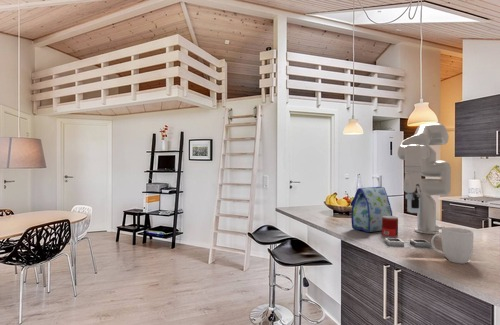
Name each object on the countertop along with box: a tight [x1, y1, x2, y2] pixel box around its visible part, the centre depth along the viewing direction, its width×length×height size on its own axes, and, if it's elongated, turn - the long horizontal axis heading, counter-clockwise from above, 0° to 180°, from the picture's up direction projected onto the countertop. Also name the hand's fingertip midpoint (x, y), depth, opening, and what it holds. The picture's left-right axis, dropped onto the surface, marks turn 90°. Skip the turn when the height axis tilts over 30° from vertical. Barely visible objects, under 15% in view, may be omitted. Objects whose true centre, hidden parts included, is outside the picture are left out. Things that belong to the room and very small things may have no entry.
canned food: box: [381, 215, 399, 237], centre depth 167 cm, size 8×8×11 cm
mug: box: [430, 226, 474, 264], centre depth 127 cm, size 15×11×13 cm
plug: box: [405, 192, 419, 214], centre depth 146 cm, size 5×4×9 cm
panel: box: [379, 237, 435, 251], centre depth 147 cm, size 22×14×3 cm, turn 81°
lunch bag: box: [350, 186, 393, 233], centre depth 184 cm, size 22×17×26 cm
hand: (413, 207), depth 146 cm, fingers closed on plug, 4 cm apart
